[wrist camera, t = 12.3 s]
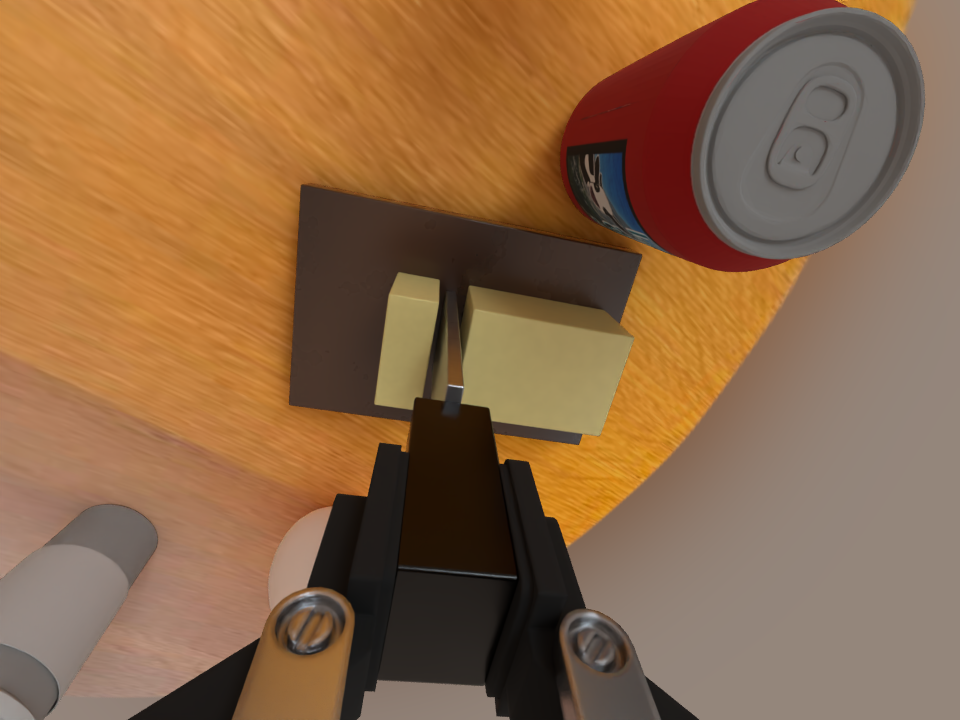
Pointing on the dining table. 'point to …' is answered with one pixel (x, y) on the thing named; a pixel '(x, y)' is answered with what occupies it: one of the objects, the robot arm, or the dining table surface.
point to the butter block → (541, 360)
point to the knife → (450, 535)
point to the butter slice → (407, 340)
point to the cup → (66, 605)
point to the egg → (296, 556)
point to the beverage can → (750, 135)
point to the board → (428, 253)
